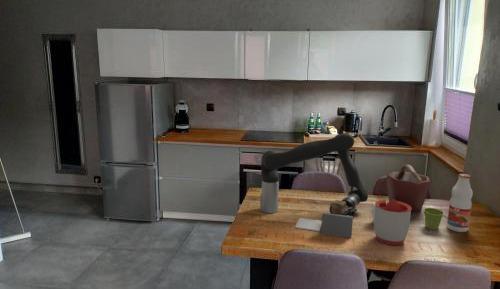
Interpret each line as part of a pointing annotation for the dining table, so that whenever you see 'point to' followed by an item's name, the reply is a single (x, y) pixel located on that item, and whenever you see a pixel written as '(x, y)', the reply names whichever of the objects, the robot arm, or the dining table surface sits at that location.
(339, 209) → the walnut block
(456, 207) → the fruit juice
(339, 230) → the charcoal board
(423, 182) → the bucket
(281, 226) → the dining table surface
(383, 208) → the citrus juicer
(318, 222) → the grey pad
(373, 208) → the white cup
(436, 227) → the plant pot
